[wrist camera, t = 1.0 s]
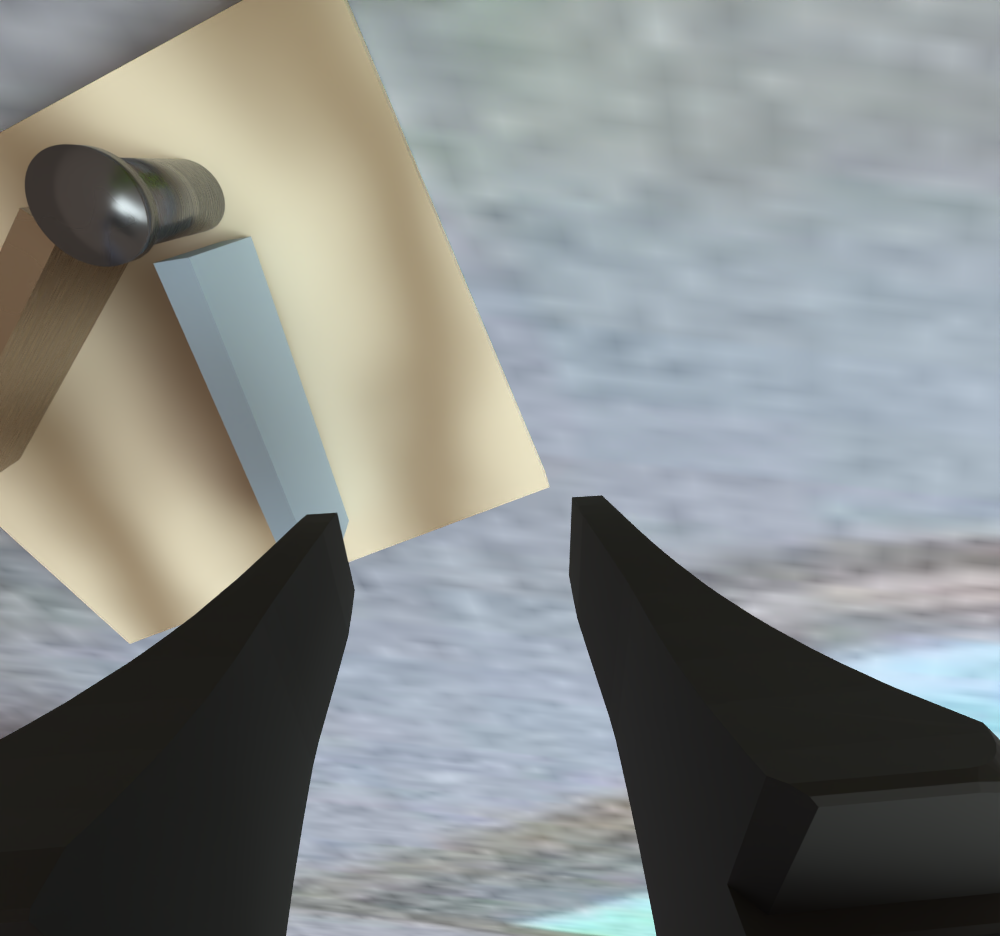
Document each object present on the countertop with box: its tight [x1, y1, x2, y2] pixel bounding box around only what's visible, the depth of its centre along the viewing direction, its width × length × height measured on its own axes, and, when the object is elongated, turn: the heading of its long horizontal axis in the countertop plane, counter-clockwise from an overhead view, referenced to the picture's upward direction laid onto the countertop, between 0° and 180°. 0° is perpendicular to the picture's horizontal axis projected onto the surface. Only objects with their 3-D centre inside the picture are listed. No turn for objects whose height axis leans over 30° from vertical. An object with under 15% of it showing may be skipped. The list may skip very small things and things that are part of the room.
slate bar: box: [153, 237, 349, 542], centre depth 16 cm, size 10×1×4 cm, turn 8°
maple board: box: [0, 0, 549, 644], centre depth 18 cm, size 19×16×1 cm
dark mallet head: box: [0, 144, 225, 472], centre depth 14 cm, size 12×2×5 cm, turn 138°
